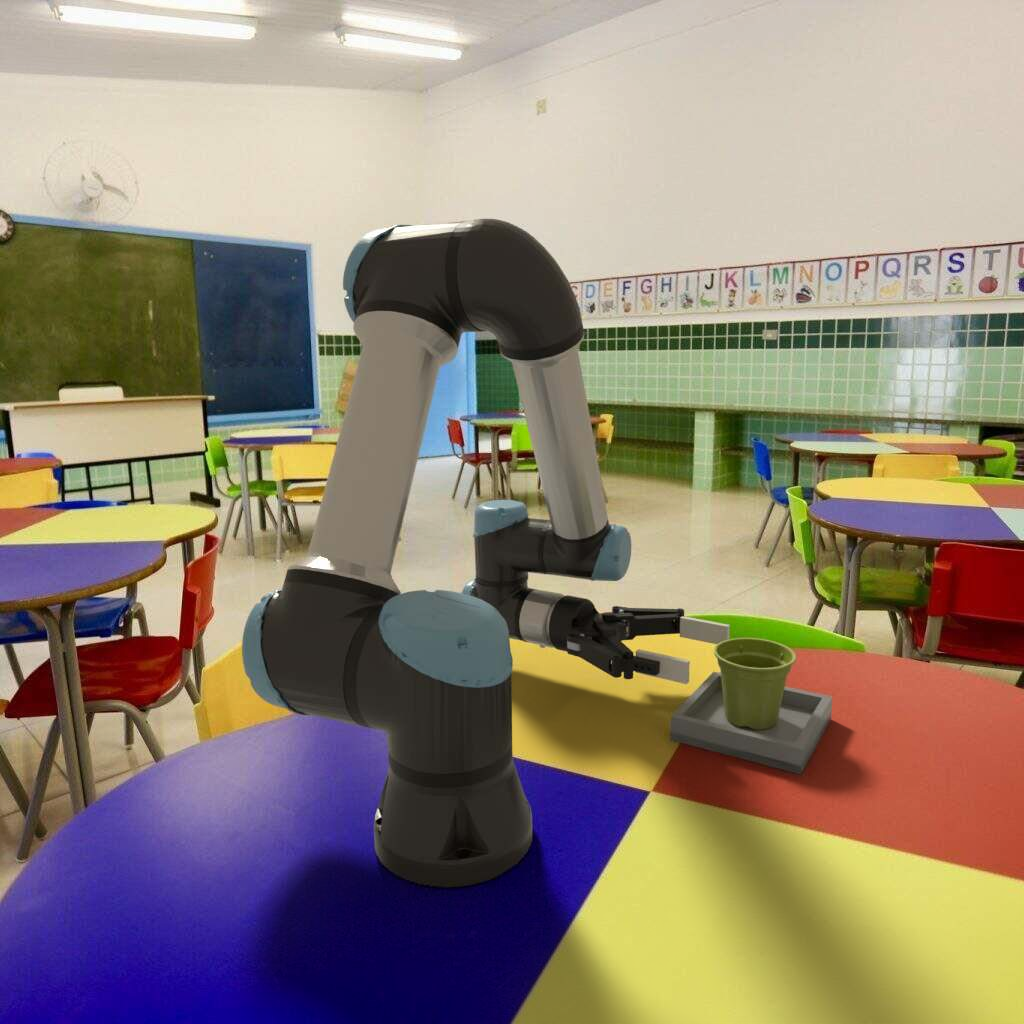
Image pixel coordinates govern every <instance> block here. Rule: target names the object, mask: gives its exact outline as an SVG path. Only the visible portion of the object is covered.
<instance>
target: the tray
mask: <svg viewBox="0 0 1024 1024" xmlns="http://www.w3.org/2000/svg"><path fill="white" fill-rule="evenodd" d="M832 711H833V695H832V696H831V695H826V694H822V693H818V692H817V693H816V692H813V691H807V690H802V689H799V688H794V687H793V688H792V687H789V686H785V687H784V692H783V696H782V701H781V706H780V711H779V716H778V720H777V722H776V724H775V725H774V726H773V727H771V728H767V729H761V730H754V729H752V728H750V727H746V726H742V727H739V726H736V725H734V724H732V723H731V722H729V721H728V720H727V719H726V716H725V709H724V699H723V689H722V680H721V672H718V671H713V672H712V673H711V674H710V675H709V676H708V677H707V678H706V679H705V680H704V681H703V682H702V683H701V684H700V685H699V686H698V687H697V688H696V689H695V691H694V692H692V693H691V695H689V697H687V699H685V701H684V702H683V703H682V704H681V705H680V706H679V707H678V708H677V709H676V710H675V711H674V712H673V713H672V714H671V715H670V727H669V728H670V729H669V735H670V736H669V740H670V741H674V742H678V743H681V744H684V745H689V746H692V747H696V748H700V749H704V750H708V751H711V752H715V753H719V754H722V755H726V756H729V757H734V758H737V759H741V760H744V761H749V762H753V763H756V764H761V765H764V766H766V767H771V768H775V769H778V770H782V771H783V770H784V771H787V772H791V773H794V774H797V775H802V773H803V772H804V769H805V767H806V765H807V764H808V763H809V760H810V759H811V757H812V754H813V753H814V751H815V749H816V748H817V745H818V744H819V742H820V740H821V738H822V736H823V735H824V733H825V732H826V729H827V727H828V726H829V724H830V723H831V720H832Z"/></svg>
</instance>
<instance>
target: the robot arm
mask: <svg viewBox="0 0 1024 1024" xmlns="http://www.w3.org/2000/svg"><path fill="white" fill-rule="evenodd" d="M555 259H556V258H555V257H553V255H551V253H550V252H549V251H548V250H547V248H546V247H544V245H543V244H541V242H539V240H538V239H536V237H534V236H533V235H531V234H530V233H529V232H528V231H526V230H524V229H523V228H521V227H519V226H517V225H515V224H514V223H510V222H508V221H506V220H505V221H504V220H501V219H496V218H477V219H474V220H463V221H450V222H441V223H430V224H429V223H428V224H420V225H412V224H395V225H393V226H391V227H388V228H381V229H376V230H374V231H371V232H370V231H369V232H368V233H366V234H365V235H364V236H363V237H361V238H360V240H358V241H357V242H356V244H355V245H354V246H353V247H352V249H351V252H350V253H349V255H348V257H347V260H346V263H345V268H344V271H343V275H342V276H343V279H342V280H343V281H342V290H344V291H346V295H345V296H344V298H343V301H344V305H345V309H346V312H347V314H348V316H349V319H350V320H351V321H352V322H353V333H354V334H355V336H356V338H357V340H358V341H359V342H360V344H361V345H362V348H361V351H360V355H359V359H358V362H357V367H356V370H355V374H354V378H353V381H352V385H351V389H350V393H349V397H348V399H347V404H346V408H345V412H344V415H343V419H342V423H341V428H340V431H339V434H338V438H337V441H336V445H335V449H334V453H333V457H332V460H331V465H330V468H329V473H328V476H327V480H326V483H325V487H324V491H323V495H322V498H321V501H320V502H321V503H320V506H319V509H318V513H317V516H316V517H317V518H316V521H315V524H314V529H313V532H312V536H311V540H310V544H309V547H308V551H307V554H306V555H305V556H304V557H303V558H301V559H299V560H297V561H296V562H295V563H293V564H291V565H289V566H288V567H287V570H286V573H285V576H284V581H283V584H282V587H281V588H278V589H276V590H273V591H269V592H268V593H266V594H265V595H263V596H262V597H261V598H260V602H257V603H256V604H254V606H253V608H252V609H251V610H250V613H249V614H248V616H247V619H246V622H245V625H244V627H243V628H244V629H243V634H242V640H241V642H242V643H241V658H242V664H243V669H244V672H245V675H246V678H247V677H248V679H249V681H250V686H251V687H252V690H253V691H254V692H255V693H256V695H257V696H258V697H260V699H262V700H263V701H264V702H266V703H268V704H270V705H272V706H274V707H277V708H282V709H285V710H287V711H290V712H291V713H293V714H296V715H301V716H312V717H317V718H321V719H326V720H329V721H330V720H331V721H334V722H335V721H336V722H341V723H344V724H349V725H353V726H359V727H364V728H367V729H368V728H369V729H374V730H378V731H382V732H384V733H385V734H386V740H387V741H386V742H387V749H388V750H387V751H388V752H387V753H388V770H387V774H386V777H385V780H384V783H383V784H384V785H383V788H382V791H381V794H380V798H379V801H378V804H377V805H378V806H377V809H376V812H375V815H374V819H373V820H374V821H373V839H374V841H373V842H374V850H375V854H376V857H377V856H378V857H377V859H378V858H379V859H378V860H379V862H380V863H381V865H382V866H383V865H384V866H385V867H386V868H388V869H389V870H390V871H392V872H393V873H394V874H395V875H394V874H393V873H392V874H393V875H394V876H396V875H397V876H396V877H398V876H399V877H398V878H400V877H401V878H400V879H402V878H404V879H406V880H405V881H407V880H409V881H411V882H410V883H412V881H413V882H416V883H418V884H417V885H420V884H424V885H423V886H425V885H431V886H430V887H432V886H437V887H436V888H458V887H465V886H466V887H467V886H472V885H477V884H480V883H484V882H487V881H490V880H493V879H495V878H497V877H499V876H501V875H503V874H504V873H503V872H505V871H507V870H508V869H510V868H511V867H512V866H514V865H515V864H516V865H518V864H519V863H518V862H519V861H520V860H521V858H522V857H523V858H524V857H525V856H526V855H525V854H527V853H528V851H529V850H528V849H530V848H529V847H531V846H532V845H531V844H532V841H533V814H532V809H531V805H530V803H529V801H528V798H527V796H526V795H525V792H524V789H523V786H522V781H521V780H520V777H519V774H518V771H517V768H516V766H515V762H514V758H513V755H514V753H513V704H512V703H513V696H512V695H513V694H512V693H513V692H512V690H513V689H512V688H513V687H512V686H513V685H512V682H513V681H512V675H513V674H512V671H513V667H514V665H513V664H514V663H513V662H514V661H513V655H512V649H511V641H510V639H512V640H517V641H521V642H522V641H523V642H525V643H530V644H533V645H536V646H537V645H539V648H541V649H546V648H550V649H551V648H552V649H553V648H554V649H556V650H557V651H561V652H562V651H563V652H567V654H568V655H571V656H574V657H578V658H580V659H582V660H584V661H585V662H587V663H589V664H591V665H592V666H594V667H596V668H597V669H599V670H601V671H602V672H604V673H606V674H607V675H609V676H611V677H612V678H621V677H622V675H623V678H624V679H625V680H632V679H633V678H634V672H635V673H638V674H640V675H641V674H642V675H646V676H649V677H654V678H658V679H663V680H666V681H667V680H668V681H671V682H676V683H680V684H684V685H688V684H689V683H690V663H691V661H690V660H689V659H685V658H681V657H676V656H671V655H668V654H667V655H666V654H662V653H657V652H653V651H649V650H644V649H637V650H635V653H634V651H632V649H630V648H629V647H628V646H627V645H626V644H624V642H622V641H632V640H634V639H635V638H636V637H642V636H661V635H662V636H663V635H676V634H679V637H680V638H684V639H689V640H694V641H698V642H699V641H700V642H704V643H708V644H713V645H714V644H715V645H717V644H718V643H720V642H722V641H725V640H729V639H730V629H731V628H730V627H731V626H730V624H727V623H721V622H716V621H711V620H705V619H700V618H694V617H689V616H685V609H684V608H680V607H678V608H650V607H649V608H648V607H646V608H645V607H627V606H626V607H625V606H620V605H619V606H618V605H613V606H612V608H611V610H612V611H608V612H607V611H606V612H599V611H598V610H597V608H596V607H595V604H594V603H593V602H592V601H591V600H590V599H588V598H584V597H579V596H573V595H569V594H568V595H565V594H562V593H558V592H553V591H547V590H542V589H535V588H530V587H528V580H529V574H540V575H548V576H549V575H550V576H557V577H565V578H566V577H567V578H573V579H581V580H588V581H591V582H594V581H596V582H597V581H598V582H599V581H600V582H603V581H604V582H619V581H620V580H622V579H623V578H624V577H625V575H626V574H627V571H628V569H629V566H630V563H631V557H632V537H631V534H630V532H629V530H628V528H627V527H625V526H623V525H617V524H616V523H615V524H614V523H611V524H610V521H609V517H608V512H607V505H606V500H605V493H604V488H603V483H602V477H601V472H600V466H599V461H598V455H597V449H596V444H595V437H594V432H593V427H592V420H591V416H590V411H589V405H588V398H587V393H586V387H585V383H584V376H583V371H582V366H581V359H580V355H579V354H580V353H579V350H578V347H579V346H580V345H581V343H582V342H583V340H584V338H585V330H584V325H583V318H582V314H581V309H580V306H579V303H578V301H577V297H576V294H575V291H574V290H573V288H572V285H571V283H570V281H569V280H568V278H567V276H566V274H565V273H564V271H563V269H562V268H561V266H560V265H559V263H558V262H557V261H556V260H555ZM472 332H473V333H474V332H480V333H481V332H489V333H491V334H493V336H494V337H495V338H496V341H497V345H498V349H499V352H500V355H501V357H503V358H504V359H505V360H507V361H509V362H511V365H512V369H513V372H514V377H515V380H516V385H517V388H518V392H519V397H520V398H519V399H520V401H521V405H522V409H523V414H524V419H525V422H526V425H527V429H528V434H529V437H530V443H531V447H532V450H533V455H534V459H535V463H536V467H537V472H538V476H539V480H540V484H541V488H542V492H543V496H544V501H545V504H546V509H547V512H548V516H549V517H548V518H549V519H542V518H532V517H531V518H530V517H529V513H528V512H529V511H528V508H527V505H526V504H525V503H524V502H522V501H516V500H513V499H497V500H495V499H494V500H488V501H485V502H482V503H479V505H478V506H476V507H475V510H474V518H473V520H474V523H473V533H472V538H473V542H474V562H475V564H474V566H475V567H474V568H475V569H474V570H475V578H474V579H472V580H469V581H468V582H467V583H466V584H465V585H464V587H463V589H462V590H461V592H457V591H452V590H444V589H436V590H435V591H429V590H426V589H421V590H412V591H407V592H406V591H405V592H401V590H400V588H399V587H398V585H397V583H396V582H395V580H394V579H393V577H392V574H391V573H392V569H393V564H394V562H395V561H394V560H395V557H396V551H397V547H398V543H399V539H400V535H401V531H402V526H403V523H404V520H405V519H404V518H405V514H406V510H407V505H408V501H409V497H410V492H411V489H412V484H413V482H414V481H413V479H414V476H415V471H416V469H417V468H416V467H417V465H418V464H417V463H418V459H419V456H420V450H421V447H422V443H423V438H424V434H425V430H426V426H427V421H428V416H429V413H430V409H431V404H432V401H433V396H434V393H435V392H434V391H435V387H436V383H437V379H438V375H439V371H440V368H441V367H443V366H445V365H446V364H448V363H450V362H452V361H453V360H454V359H455V358H456V357H457V354H458V349H459V346H460V342H461V339H462V335H463V333H472ZM634 654H635V655H634ZM526 852H527V853H526ZM524 855H525V856H524ZM523 858H522V859H523ZM521 861H522V860H521ZM516 865H515V866H516ZM384 866H383V867H384ZM515 866H514V867H515ZM385 867H384V868H385ZM386 868H385V869H386ZM388 869H387V870H388ZM511 869H512V868H511ZM511 869H510V870H511ZM389 870H388V871H389ZM390 871H389V872H390ZM508 871H509V870H508ZM508 871H507V872H508ZM502 873H503V874H502ZM505 873H506V872H505ZM500 874H501V875H500ZM498 875H499V876H498ZM404 879H403V880H404ZM409 881H408V882H409ZM416 883H415V884H416ZM441 886H443V887H441ZM453 886H454V887H453Z"/></svg>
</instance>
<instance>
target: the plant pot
mask: <svg viewBox="0 0 1024 1024" xmlns="http://www.w3.org/2000/svg"><path fill="white" fill-rule="evenodd" d="M713 654H714V657H716V659H717V664H718V667H719V668H720V669H719V670H720V673H721V680H722V689H723V699H724V709H725V716H726V719H727V720H728V721H729V722H731V723H732V724H734V725H736V726H739V727H742V726H746V727H750V728H752V729H754V730H761V729H767V728H771V727H773V726H774V725H775V724H776V722H777V720H778V716H779V711H780V706H781V701H782V696H783V692H784V687H786V683H787V678H788V675H789V673H790V672H791V668H792V666H793V665H794V664H795V663H796V660H797V655H796V653H795V652H794V651H793V649H792V648H790V647H789V646H787V645H785V644H783V643H779V642H777V641H774V640H773V641H772V640H770V639H765V638H756V637H735V638H729V640H725V641H722V642H720V643H718V644H715V646H714V649H713Z"/></svg>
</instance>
